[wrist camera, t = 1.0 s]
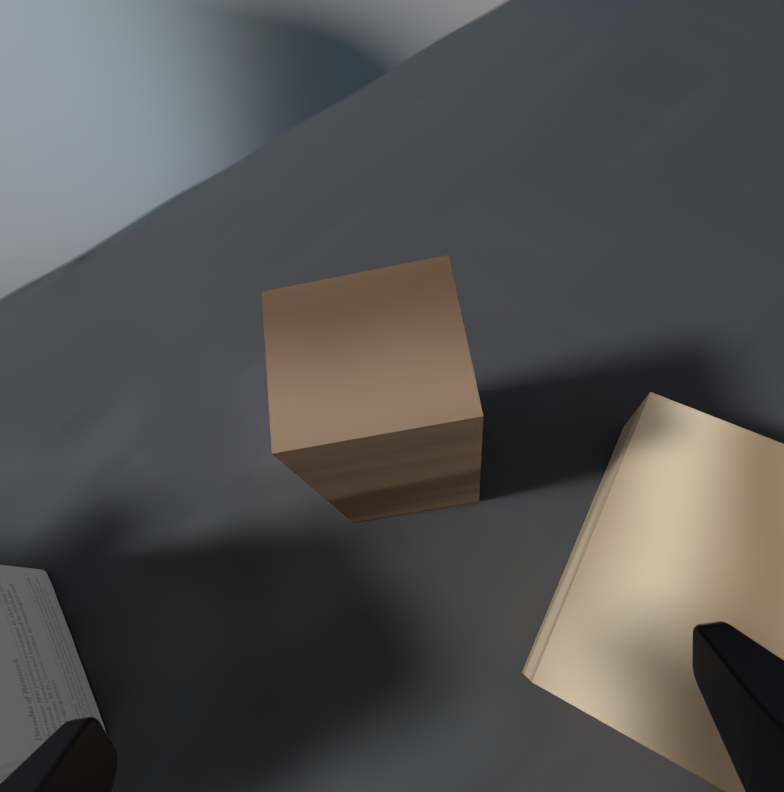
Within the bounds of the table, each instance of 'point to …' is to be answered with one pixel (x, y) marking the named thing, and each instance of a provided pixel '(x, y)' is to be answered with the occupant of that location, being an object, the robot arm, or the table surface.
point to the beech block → (668, 580)
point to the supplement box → (36, 667)
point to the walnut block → (375, 390)
